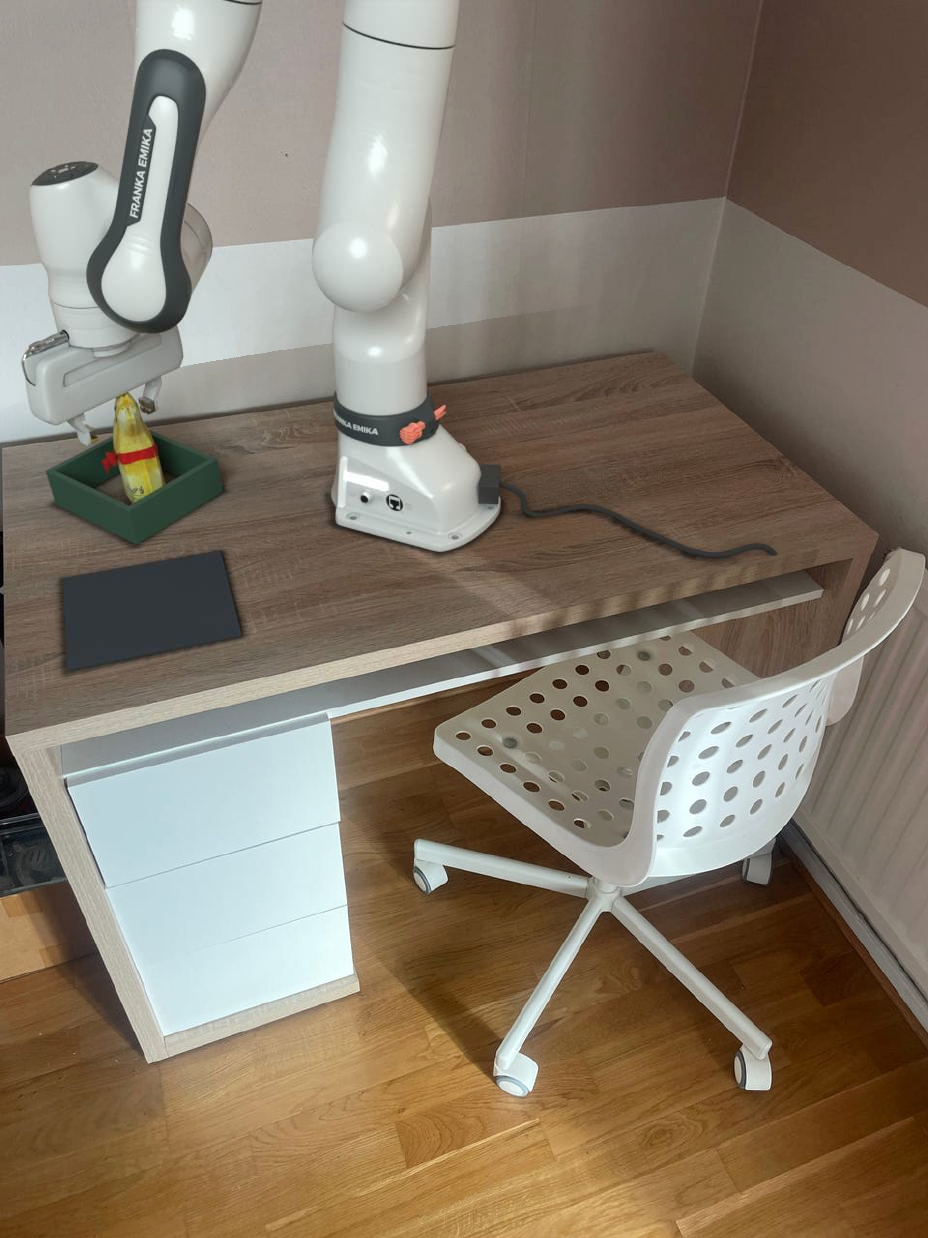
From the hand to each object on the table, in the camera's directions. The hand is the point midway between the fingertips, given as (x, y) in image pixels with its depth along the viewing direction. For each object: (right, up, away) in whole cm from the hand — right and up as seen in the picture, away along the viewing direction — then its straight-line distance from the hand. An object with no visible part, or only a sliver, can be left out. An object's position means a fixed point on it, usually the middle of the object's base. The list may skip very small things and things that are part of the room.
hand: (120, 426), depth 119 cm
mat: (+7, -22, -10) cm, 25 cm away
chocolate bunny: (0, -8, +7) cm, 11 cm away
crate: (0, -8, +7) cm, 10 cm away
